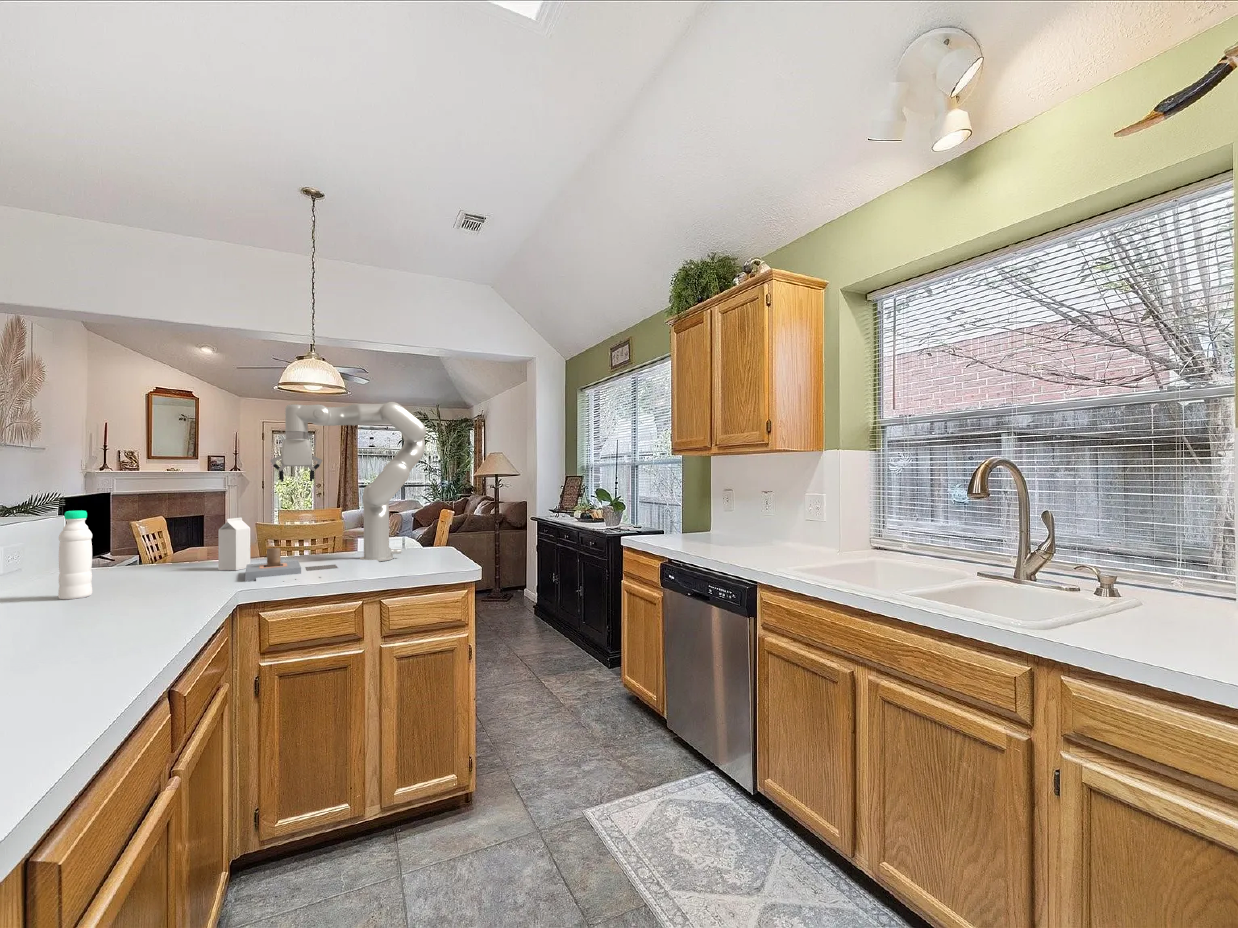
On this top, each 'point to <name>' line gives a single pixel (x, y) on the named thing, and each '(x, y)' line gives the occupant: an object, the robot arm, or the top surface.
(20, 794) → the top surface
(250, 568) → the hole plate
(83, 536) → the milk bottle
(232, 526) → the milk carton
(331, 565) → the tongue
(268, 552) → the peg
